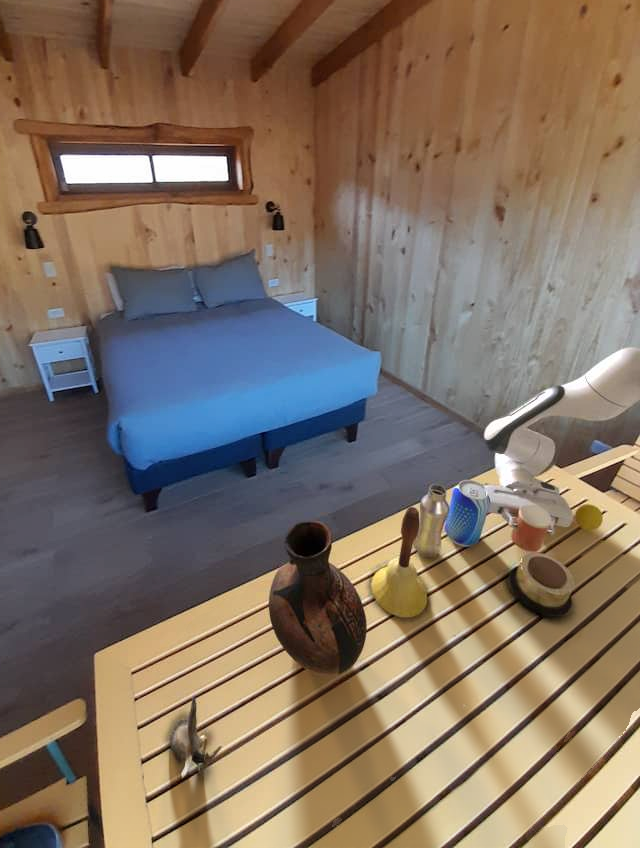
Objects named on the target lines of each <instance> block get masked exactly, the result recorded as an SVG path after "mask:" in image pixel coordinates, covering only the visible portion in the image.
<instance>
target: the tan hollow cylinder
mask: <svg viewBox="0 0 640 848" xmlns="http://www.w3.org/2000/svg"><path fill="white" fill-rule="evenodd" d="M507 584H508V589H509V591H510V593H511V595H512V596H513V598H514V599H515V600H516V601H517V603H518V604H519V605H520V606H521V607H522V608H524V609H525V610H527V611H528V612H530V613H531V614H533V615H535V616H537V617H540V618H543V619H547V620H561V619H563V618H565V617H566V616H567V615H568V614H569V612H570V610H571V608H572V605H573V599H572V595H571V594H572V592H573V590H574V588H575V580H574V577H573V575H572V573H571V571H570V570H569V569H568V568H567V567H566V566H565V565H564V564H563V563H562V562H560V561H559V560H558V559H556V558H554V557H552V556H550V555H548V554H545V553H541V552H528V553H525V554H524V555H523V556H522V557H521V559H520V561H519V563H518V565H516V566H515V567H513V568H512V569H511V570H510V572H509V576H508V579H507Z"/></svg>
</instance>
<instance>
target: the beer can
mask: <svg viewBox="0 0 640 848" xmlns="http://www.w3.org/2000/svg"><path fill="white" fill-rule="evenodd" d="M482 484H483V483H480V482H478V481H477V480H472V479H464V480H462V481H460V482H459V483H458V484H457V485H456V486H455V487H454V488H453V489H452V493H451V498H450V502H449V510H450V512H449V515H448V517H447V519H446V521H445V523H444V531H445V534H446V535H447V537H448V538H449V540H450V541H452V542H453V543H454V544H456V545H458V546H461V547H472V546H475V545H476V544H478V543H479V541H480V539H481V535H482V532H483V529H484V525H485V522H486V518H487V516H488V513H489V512H488V509H489V505H490V498H489V496H488V491H487V489H486V488H485V486H483V485H482Z"/></svg>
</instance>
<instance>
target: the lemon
mask: <svg viewBox="0 0 640 848" xmlns="http://www.w3.org/2000/svg"><path fill="white" fill-rule="evenodd" d="M603 519H604V517H603V513H602V511H601V510H600V508H598V506H595V505H594V504H589V503H585V504H582V505H580V506H579V507H578V508H577V509H576V511H575V514H574V520H575V523H576V524H577V526H578V527H579V528H581V529H582V530H585V531H589V532H592V531H596V530H598V529H599V528H600V527H601V525H602V524H603Z"/></svg>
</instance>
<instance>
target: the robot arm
mask: <svg viewBox="0 0 640 848" xmlns="http://www.w3.org/2000/svg"><path fill="white" fill-rule="evenodd" d="M639 401H640V348H639V347H631V346H630V347H624V348H621V349H618V350H617V351H616V352H613V353H612V354H611V355H609V356H607V357H605V358H604V359H602V360H601V361H599V362H598V363H597V364H596V365H594V366H593V367H592V368H590V369H589V370H588V371H587V372H586V373H585V374H583V375H582V376H581V377H579V378H577V379H575V380H572V381H570V382H567V383H563V384H560V385H552V386H549V387H547V388H545V389H543V390H542V391H540V392H538V393H537V394H535V395H533V396H532V397H531V398H529V399H528V400H526V401H525V402H523V403H521V404H520V405H518V406H517V407H516V408H514V409H512V410H511V411H509V412H508V413H506V414H505V415H502V416H499V417H497V418H496V419H494V420H492V421H491V422H489V423H488V424H487V426H486V427H485V429H484V431H483V441H484V443H485V445H486V447H487V448H488V450H489V451H490V452H493V453H495V454H494V467H495V472H496V475H497V477H498V479H499V480H498V483H499V484H491V483H488V482H487V483H485V482H484V483H481V484H482V485H483V486H485V488H486V489H487V491H488V496H489V498H490V505H489V509H488V512H487V513H491V514H496V515H500V516H501V517H502V518H503V519H504V520H505V521H506V522H507V523H508V527H509V528H512V529H513V528H517V525H518V523H517V516H518V513H519V509H520V507H521V506H523V505H526V504H530V505H535V506H538V507H540V508H542V509H543V510H545V511H546V512H547V513H548V514H549V515H550V517H551V519H552V521H551V524H550V526H549V528H548V531H547V533H546V535H548V536H554V535H555V528H554V526H558V527H563V528H568V527H569V526H570V525H571V524H572V522H573V520H574V514H573V511H572V508H571V507H570V505H569V503H568V502H567V500H566V498H564V497H563V496H562V495H560V488H559V487H558V486H556V485H554V484H551V483H548V482H545V481H543V480H541V479H538V478H537V477H540V476H542V475H544V474H545V473H547V472H548V471H549V470H551V469H553V467H554V466H555V465H556V464H557V461H558V458H559V457H558V456H559V455H558V452H559V451H558V446H557V444H556V442H555V440H553V439H552V438H549V437H548V436H545V435H543V434H542V433H540V432H537V431H534V430H532V429H529V428H528V427H529V426H531V425H533V424H535V423H536V422H538V421H539V420H541V419H544V418H546V417H567V418H574V419H578V420H584V421H590V422H603V421H607V420H611V419H613V418H615V417H617V416H619V415H621V414H622V413H623V412H625V411H626V410H628V409H629V408H630V407H632V406H633V405H634V404H635V403H637V402H639Z"/></svg>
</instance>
